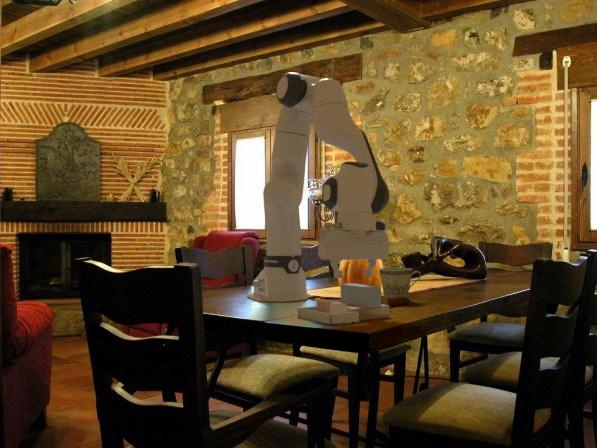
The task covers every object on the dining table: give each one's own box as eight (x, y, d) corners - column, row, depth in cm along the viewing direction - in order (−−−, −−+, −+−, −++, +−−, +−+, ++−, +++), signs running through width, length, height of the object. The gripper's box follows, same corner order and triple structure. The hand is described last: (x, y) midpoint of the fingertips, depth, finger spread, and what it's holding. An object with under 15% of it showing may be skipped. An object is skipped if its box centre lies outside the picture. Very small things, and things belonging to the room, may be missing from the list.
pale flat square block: (327, 315, 160) (327, 304, 160) (360, 312, 166) (360, 300, 166) (355, 321, 150) (355, 309, 150) (389, 317, 156) (389, 305, 156)
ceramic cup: (383, 303, 183) (383, 270, 183) (376, 299, 193) (376, 268, 193) (426, 302, 185) (425, 269, 185) (416, 298, 194) (416, 267, 194)
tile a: (323, 315, 159) (316, 315, 157) (323, 299, 159) (316, 300, 158) (332, 316, 155) (325, 317, 154) (331, 301, 155) (325, 301, 154)
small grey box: (381, 306, 154) (381, 286, 154) (368, 307, 152) (368, 287, 152) (352, 301, 164) (352, 283, 164) (340, 303, 162) (340, 284, 162)
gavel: (399, 292, 187) (425, 294, 180) (398, 307, 187) (425, 310, 180) (351, 293, 174) (378, 296, 166) (351, 309, 173) (377, 312, 166)
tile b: (336, 318, 153) (330, 318, 152) (336, 302, 153) (329, 302, 152) (346, 320, 150) (339, 320, 149) (345, 303, 150) (339, 304, 149)
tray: (297, 317, 157) (297, 308, 157) (325, 315, 161) (325, 305, 161) (330, 325, 144) (330, 314, 144) (358, 322, 149) (358, 311, 149)
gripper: (327, 223, 150) (325, 279, 150) (393, 224, 160) (391, 277, 160) (313, 222, 156) (312, 277, 156) (378, 224, 166) (377, 275, 166)
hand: (353, 277), depth 158 cm, fingers open, 8 cm apart
